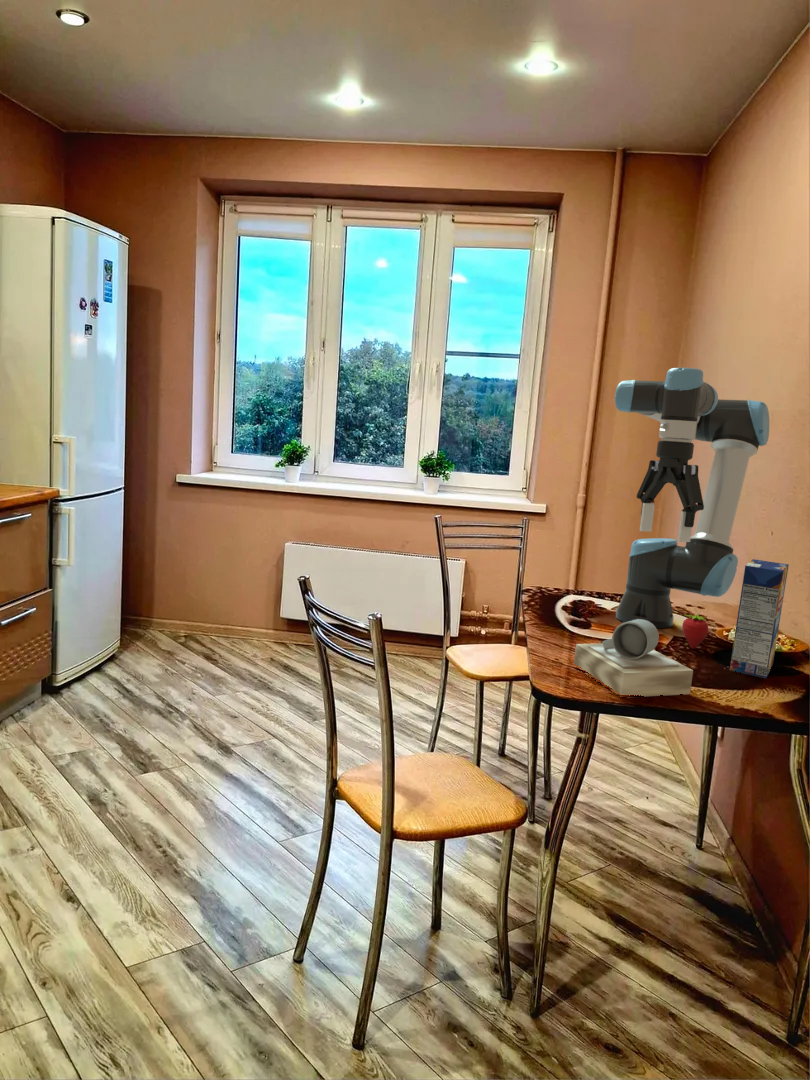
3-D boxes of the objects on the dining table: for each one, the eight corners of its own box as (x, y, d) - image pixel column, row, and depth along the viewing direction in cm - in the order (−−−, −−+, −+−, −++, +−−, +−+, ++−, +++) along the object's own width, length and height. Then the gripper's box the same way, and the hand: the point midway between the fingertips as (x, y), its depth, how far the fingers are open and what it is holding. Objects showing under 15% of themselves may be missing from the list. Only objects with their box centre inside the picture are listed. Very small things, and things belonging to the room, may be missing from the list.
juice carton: (738, 657, 172) (753, 559, 168) (772, 665, 168) (788, 564, 164) (729, 670, 162) (745, 565, 158) (766, 678, 158) (783, 571, 154)
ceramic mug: (659, 655, 151) (663, 619, 149) (646, 663, 144) (650, 626, 143) (609, 644, 157) (613, 609, 156) (595, 652, 150) (599, 616, 149)
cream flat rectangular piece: (573, 666, 157) (576, 642, 156) (636, 663, 161) (639, 640, 161) (620, 697, 140) (624, 671, 139) (689, 694, 144) (693, 668, 144)
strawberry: (681, 651, 173) (687, 611, 172) (677, 642, 181) (682, 604, 179) (707, 654, 172) (713, 614, 170) (702, 646, 179) (708, 607, 178)
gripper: (628, 437, 168) (617, 526, 172) (700, 442, 145) (686, 546, 148) (655, 439, 170) (644, 527, 174) (731, 444, 147) (716, 546, 150)
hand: (663, 536), depth 161 cm, fingers open, 13 cm apart
